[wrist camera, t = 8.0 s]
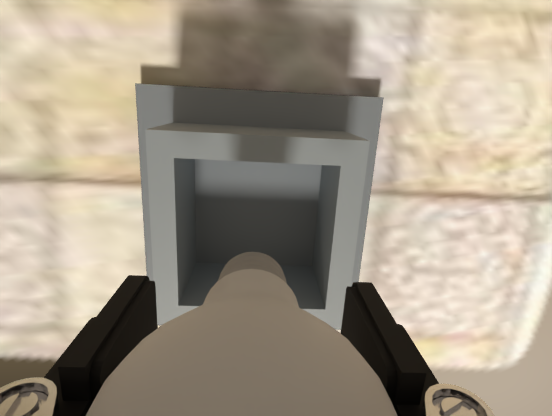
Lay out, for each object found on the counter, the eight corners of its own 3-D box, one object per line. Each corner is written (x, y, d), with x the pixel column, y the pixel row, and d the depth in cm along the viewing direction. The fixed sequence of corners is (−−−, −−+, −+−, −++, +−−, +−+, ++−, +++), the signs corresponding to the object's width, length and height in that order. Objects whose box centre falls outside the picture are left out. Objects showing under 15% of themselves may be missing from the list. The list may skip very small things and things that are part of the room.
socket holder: (141, 84, 20) (94, 78, 15) (377, 97, 21) (420, 97, 15) (152, 296, 25) (119, 356, 19) (351, 301, 25) (377, 361, 20)
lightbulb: (357, 253, 14) (624, 672, 4) (271, 358, 16) (291, 886, 5) (231, 168, 13) (111, 437, 3) (149, 289, 14) (-153, 795, 4)
